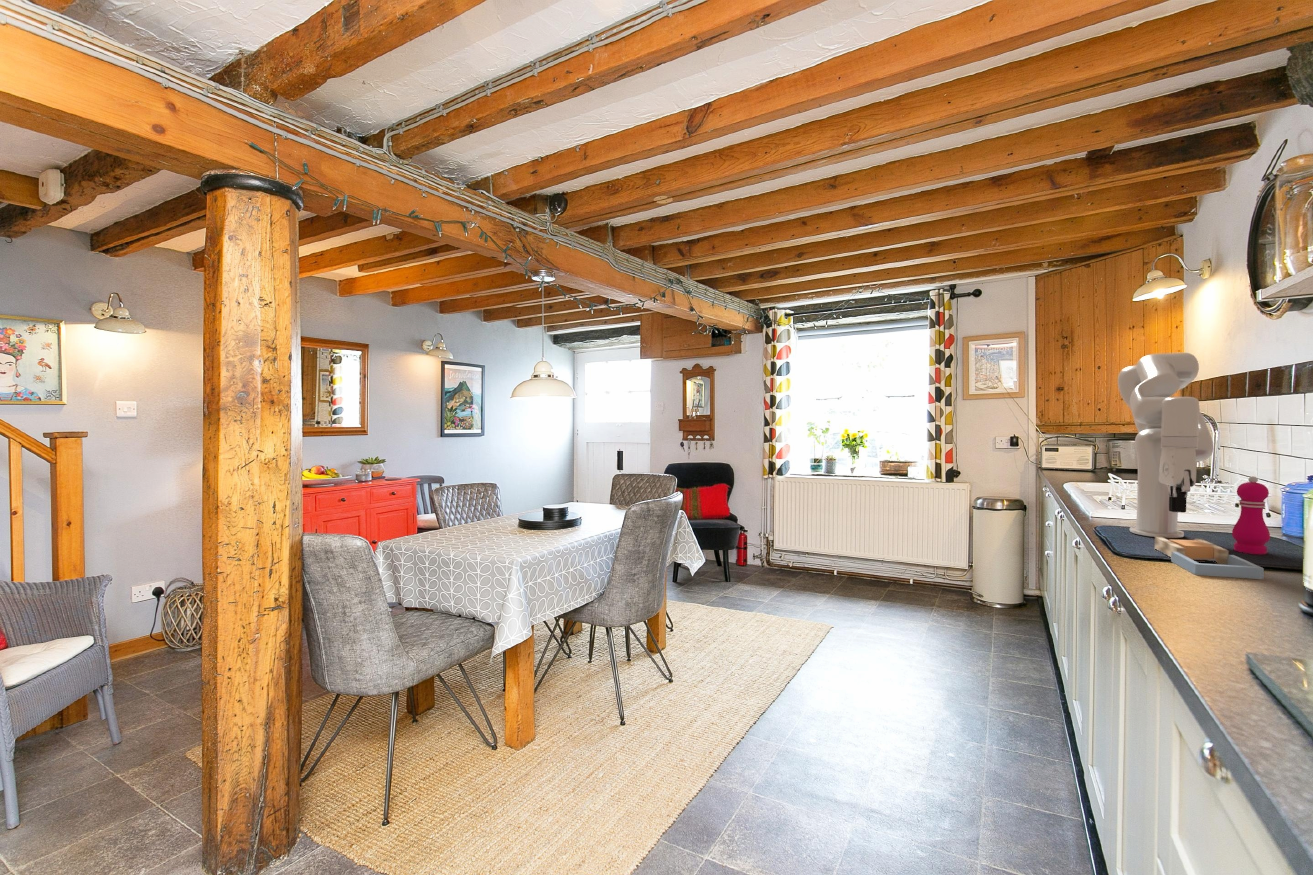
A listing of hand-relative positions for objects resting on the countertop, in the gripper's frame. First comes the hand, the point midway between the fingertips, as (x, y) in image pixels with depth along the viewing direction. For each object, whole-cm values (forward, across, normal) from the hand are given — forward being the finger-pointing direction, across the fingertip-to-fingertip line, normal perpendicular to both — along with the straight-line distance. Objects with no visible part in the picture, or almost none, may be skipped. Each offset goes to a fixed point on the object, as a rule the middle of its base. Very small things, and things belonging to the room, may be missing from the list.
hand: (1177, 511), depth 163 cm
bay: (+11, +19, 0) cm, 22 cm away
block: (+11, +7, 0) cm, 13 cm away
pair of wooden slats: (+11, +7, 0) cm, 13 cm away
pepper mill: (+10, -4, +17) cm, 20 cm away
